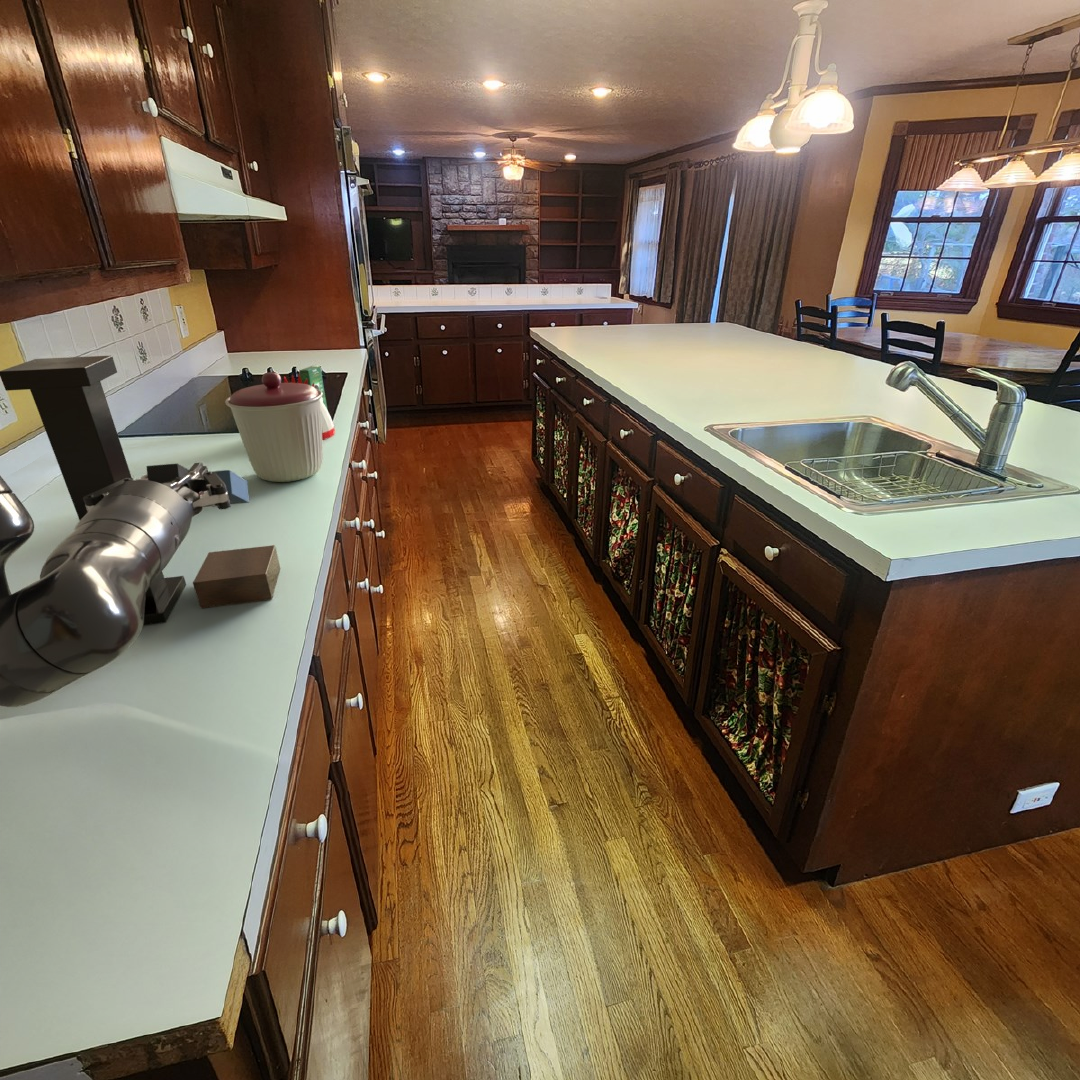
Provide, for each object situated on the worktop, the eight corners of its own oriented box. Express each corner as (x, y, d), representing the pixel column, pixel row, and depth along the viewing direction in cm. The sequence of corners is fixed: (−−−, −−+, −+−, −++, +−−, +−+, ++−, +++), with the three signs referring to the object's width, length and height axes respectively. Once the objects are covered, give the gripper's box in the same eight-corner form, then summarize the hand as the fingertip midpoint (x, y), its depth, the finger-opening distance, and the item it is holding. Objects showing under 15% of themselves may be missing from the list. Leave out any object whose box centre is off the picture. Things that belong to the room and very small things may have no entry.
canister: (285, 457, 138) (266, 362, 129) (352, 465, 133) (337, 366, 124) (223, 483, 123) (197, 378, 114) (296, 494, 118) (275, 384, 108)
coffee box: (319, 410, 176) (311, 364, 171) (328, 410, 176) (321, 364, 170) (306, 417, 169) (297, 370, 163) (316, 418, 169) (307, 370, 163)
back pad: (121, 486, 63) (118, 458, 63) (185, 508, 81) (182, 486, 81) (204, 479, 65) (202, 452, 65) (249, 502, 82) (247, 481, 83)
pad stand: (96, 631, 76) (-8, 373, 62) (124, 592, 85) (38, 357, 71) (166, 622, 78) (80, 369, 64) (186, 584, 87) (115, 354, 73)
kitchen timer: (277, 431, 157) (264, 372, 151) (332, 425, 162) (322, 367, 156) (278, 445, 146) (265, 383, 139) (337, 439, 151) (327, 377, 144)
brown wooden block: (200, 608, 81) (192, 582, 79) (215, 576, 89) (208, 552, 87) (272, 599, 83) (265, 574, 81) (280, 568, 91) (275, 544, 89)
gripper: (205, 488, 55) (241, 436, 70) (29, 503, 52) (106, 445, 67) (225, 561, 59) (255, 495, 74) (60, 579, 56) (126, 507, 71)
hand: (183, 472), depth 70 cm, fingers closed on back pad, 3 cm apart
